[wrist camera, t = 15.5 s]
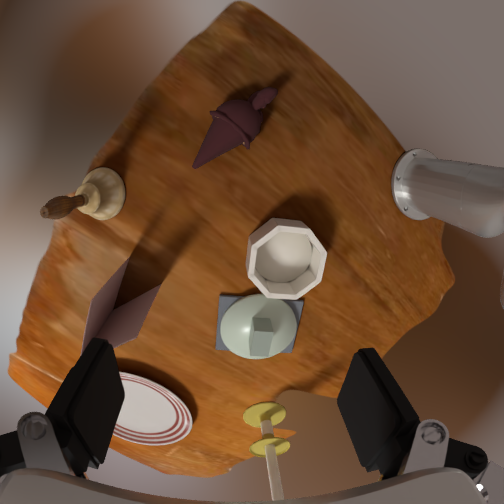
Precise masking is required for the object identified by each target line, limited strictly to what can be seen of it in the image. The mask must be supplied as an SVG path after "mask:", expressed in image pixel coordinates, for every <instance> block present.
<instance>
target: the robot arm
mask: <svg viewBox="0 0 504 504" xmlns="http://www.w3.org/2000/svg"><path fill="white" fill-rule="evenodd" d="M396 177H397V178H396ZM391 186H392V194H393V198H394V201H395V203H396V205H397V207H398V208H399V210H400V211H401V212H402V213H403V214H404V215H406V216H407V217H409V218H412V219H415V220H424V219H427V218H429V217H431V216H432V217H434V218H437V219H440V220H442V221H445V222H447V223H450V224H452V225H455V226H457V227H460V228H462V229H464V230H467V231H469V232H471V233H474V234H476V235H478V236H482V237H494V236H497V235H499V234H501V233H503V232H504V168H502V167H494V166H488V165H481V164H474V163H467V162H459V161H451V160H441V159H437V157H436V156H435V155H434V154H432V153H431V152H429V151H427V150H424V149H411V150H409V151H407V152H405V153H404V154H403V155H402V156H401V157H400V158H399V159H398V161H397V163H396V165H395V167H394V170H393V174H392V183H391ZM500 299H501V304H502V307H503V309H504V273H503V279H502V284H501V291H500ZM124 399H125V391H124V387H123V384H122V380H121V377H120V373H119V369H118V366H117V362H116V358H115V354H114V350H113V346H112V344H109V342H108V340H106V339H101V338H95V337H94V338H92V339H91V341H90V342H89V344H88V345H87V347H86V348H85V350H84V352H83V353H82V355H81V356H80V358H79V360H78V361H77V363H76V364H75V366H74V367H72V368H71V370H70V371H69V373H68V374H67V376H66V378H65V380H64V381H63V383H62V385H61V386H60V388H59V390H58V392H57V393H56V395H55V397H54V399H53V400H52V402H51V404H50V406H49V408H48V409H47V411H46V413H45V415H44V414H42V413H40V412H30V413H27V414H25V415H23V416H22V417H21V419H20V420H19V421H18V425H17V431H14V432H10V433H7V434H3V435H0V504H504V468H502V467H501V466H499V465H498V464H496V463H494V462H493V461H490V462H489V463H488V459H487V455H486V453H485V452H484V451H483V450H482V449H481V448H479V447H477V446H473V445H470V444H467V443H463V442H460V441H457V440H454V439H451V438H449V432H448V430H447V428H446V426H445V425H444V424H443V423H441V422H440V421H437V420H432V419H428V420H425V421H422V422H420V420H419V417H418V415H417V413H416V412H415V410H414V409H413V407H412V405H411V404H410V402H409V401H408V399H407V397H406V396H405V394H404V393H403V391H402V390H401V388H400V386H399V385H398V383H397V382H396V380H395V379H394V377H393V376H392V375H391V373H390V371H389V370H388V368H387V367H386V365H385V364H384V362H383V361H382V359H381V358H380V356H379V355H378V353H377V352H376V350H375V349H374V348H363V349H359V350H358V352H357V353H355V354H354V356H353V359H352V361H351V364H350V367H349V370H348V372H347V375H346V378H345V380H344V383H343V385H342V388H341V390H340V393H339V395H338V398H337V404H338V407H339V409H340V412H341V415H342V417H343V419H344V422H345V424H346V427H347V430H348V432H349V435H350V438H351V440H352V443H353V445H354V448H355V451H356V453H357V456H358V458H359V461H360V464H361V465H362V466H363V467H365V468H366V470H367V472H371V471H374V470H378V469H379V471H380V473H381V475H380V477H379V479H378V481H377V482H375V483H372V484H368V485H364V486H360V487H356V488H352V489H348V490H343V491H338V492H334V493H328V494H323V495H317V496H311V497H303V498H296V499H287V500H275V501H260V502H213V501H197V500H186V499H177V498H169V497H162V496H156V495H150V494H145V493H139V492H135V491H130V490H125V489H121V488H116V487H113V486H109V485H104V484H101V483H98V482H94V481H91V480H89V479H88V477H87V475H86V473H85V472H86V471H87V467H92V468H95V469H98V467H99V464H103V462H104V460H105V457H106V453H107V450H108V447H109V444H110V441H111V438H112V434H113V431H114V428H115V425H116V422H117V419H118V416H119V413H120V410H121V408H122V405H123V402H124Z"/></svg>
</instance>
